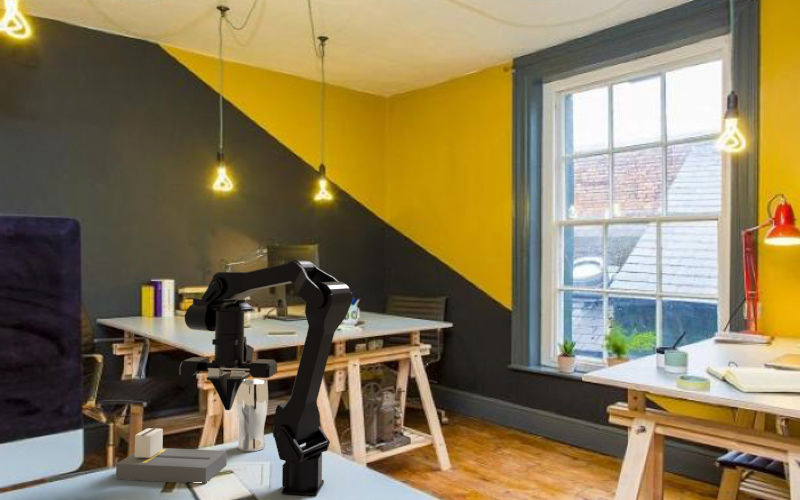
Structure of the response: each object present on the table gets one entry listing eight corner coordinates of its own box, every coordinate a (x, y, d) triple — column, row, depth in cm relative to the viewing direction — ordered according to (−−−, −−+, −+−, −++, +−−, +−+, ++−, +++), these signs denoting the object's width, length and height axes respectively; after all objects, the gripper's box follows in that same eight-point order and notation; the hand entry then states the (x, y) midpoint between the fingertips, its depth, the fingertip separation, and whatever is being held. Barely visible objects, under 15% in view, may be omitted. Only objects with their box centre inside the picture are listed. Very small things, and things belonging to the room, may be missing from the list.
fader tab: (162, 449, 119) (163, 427, 119) (149, 457, 114) (150, 435, 114) (147, 449, 120) (148, 427, 120) (134, 457, 115) (135, 434, 115)
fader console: (226, 465, 120) (226, 450, 120) (205, 483, 110) (205, 467, 111) (143, 461, 122) (144, 446, 122) (116, 479, 112) (116, 463, 112)
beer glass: (256, 440, 137) (257, 376, 137) (273, 447, 132) (274, 381, 133) (229, 447, 132) (231, 381, 132) (246, 454, 127) (247, 385, 128)
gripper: (285, 329, 126) (284, 402, 126) (203, 327, 128) (201, 399, 128) (269, 336, 115) (267, 415, 115) (178, 333, 117) (177, 412, 116)
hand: (228, 409), depth 119 cm, fingers closed
